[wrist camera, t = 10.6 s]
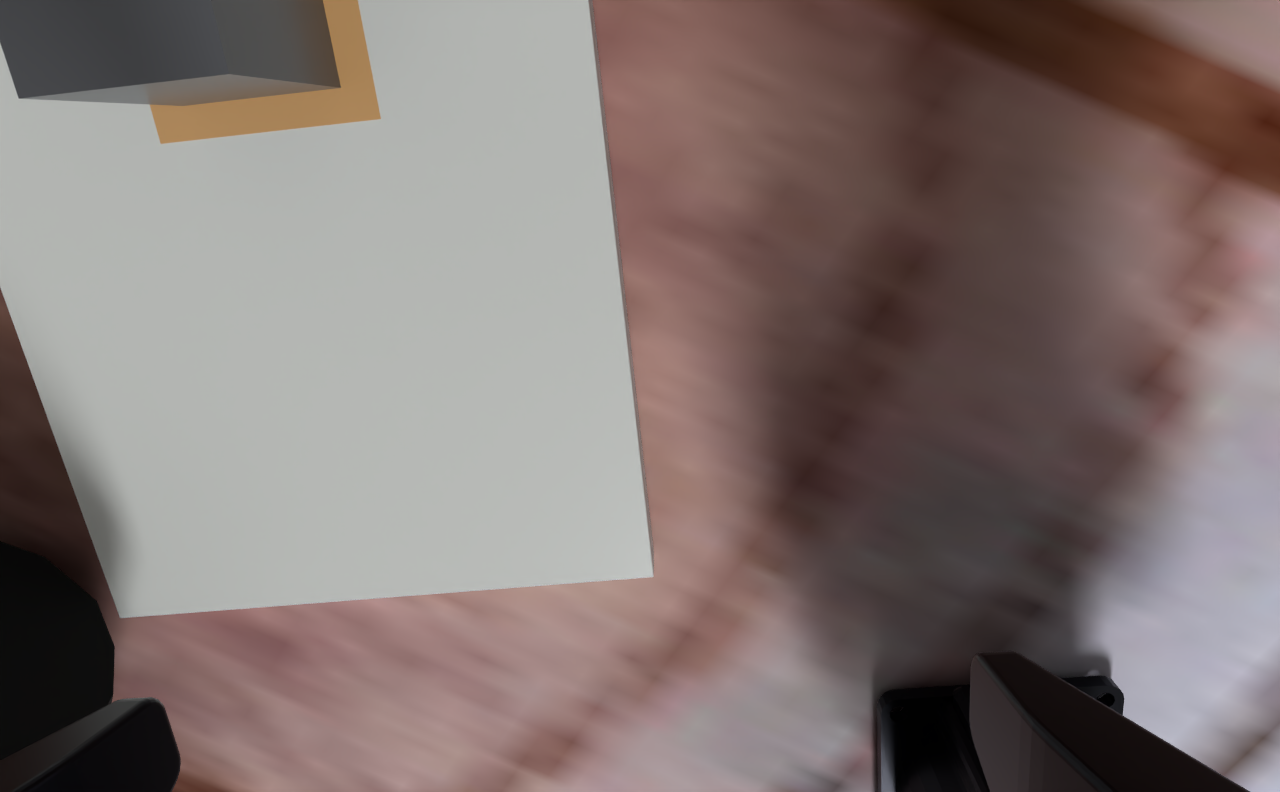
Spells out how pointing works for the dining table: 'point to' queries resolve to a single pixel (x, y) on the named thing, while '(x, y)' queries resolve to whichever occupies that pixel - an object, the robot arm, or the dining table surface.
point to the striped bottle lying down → (47, 651)
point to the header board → (339, 319)
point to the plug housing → (166, 49)
